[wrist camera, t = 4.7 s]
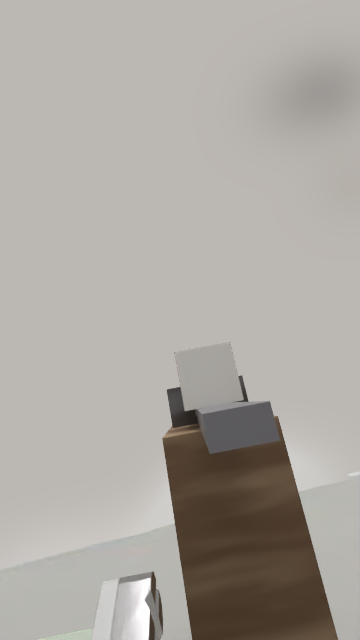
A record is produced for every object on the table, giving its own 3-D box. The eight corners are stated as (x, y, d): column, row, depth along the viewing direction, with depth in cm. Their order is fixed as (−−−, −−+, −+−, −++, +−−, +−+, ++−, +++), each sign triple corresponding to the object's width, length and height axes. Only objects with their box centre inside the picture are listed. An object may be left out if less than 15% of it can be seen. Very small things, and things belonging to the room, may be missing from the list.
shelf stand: (417, 934, 14) (264, 365, 22) (242, 973, 14) (154, 385, 22) (314, 693, 25) (239, 377, 34) (218, 713, 25) (166, 391, 34)
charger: (303, 436, 12) (262, 292, 13) (186, 458, 11) (161, 310, 13) (236, 416, 28) (222, 353, 30) (188, 425, 28) (177, 362, 30)
